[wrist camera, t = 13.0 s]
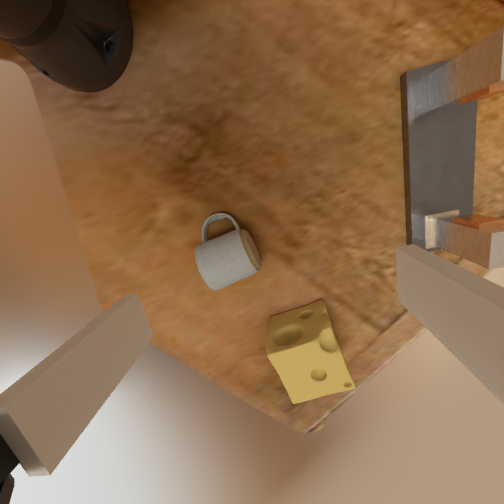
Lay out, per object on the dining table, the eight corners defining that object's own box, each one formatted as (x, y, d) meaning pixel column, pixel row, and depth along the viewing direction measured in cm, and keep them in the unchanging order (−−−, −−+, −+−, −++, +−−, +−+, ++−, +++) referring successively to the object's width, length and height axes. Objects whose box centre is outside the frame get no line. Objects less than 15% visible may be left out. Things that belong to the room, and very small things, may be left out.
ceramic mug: (265, 261, 40) (263, 279, 32) (222, 279, 41) (211, 300, 34) (236, 202, 37) (227, 208, 30) (193, 224, 39) (174, 234, 32)
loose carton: (430, 213, 34) (492, 227, 24) (453, 209, 33) (525, 222, 24) (430, 244, 35) (488, 269, 26) (452, 240, 35) (520, 264, 25)
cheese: (322, 296, 41) (337, 333, 31) (341, 346, 44) (360, 393, 34) (266, 315, 43) (264, 354, 33) (287, 361, 46) (291, 409, 36)
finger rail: (400, 76, 31) (470, 21, 20) (468, 57, 29) (584, -13, 19) (407, 251, 37) (463, 281, 26) (463, 241, 36) (546, 269, 25)
